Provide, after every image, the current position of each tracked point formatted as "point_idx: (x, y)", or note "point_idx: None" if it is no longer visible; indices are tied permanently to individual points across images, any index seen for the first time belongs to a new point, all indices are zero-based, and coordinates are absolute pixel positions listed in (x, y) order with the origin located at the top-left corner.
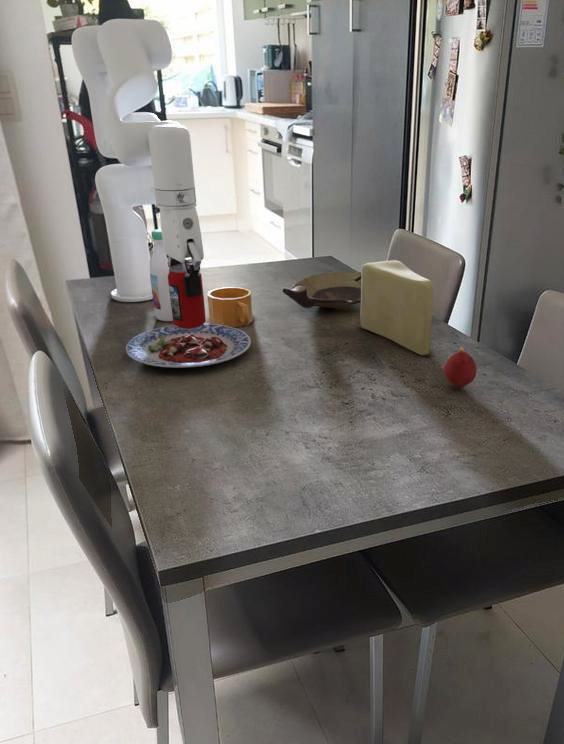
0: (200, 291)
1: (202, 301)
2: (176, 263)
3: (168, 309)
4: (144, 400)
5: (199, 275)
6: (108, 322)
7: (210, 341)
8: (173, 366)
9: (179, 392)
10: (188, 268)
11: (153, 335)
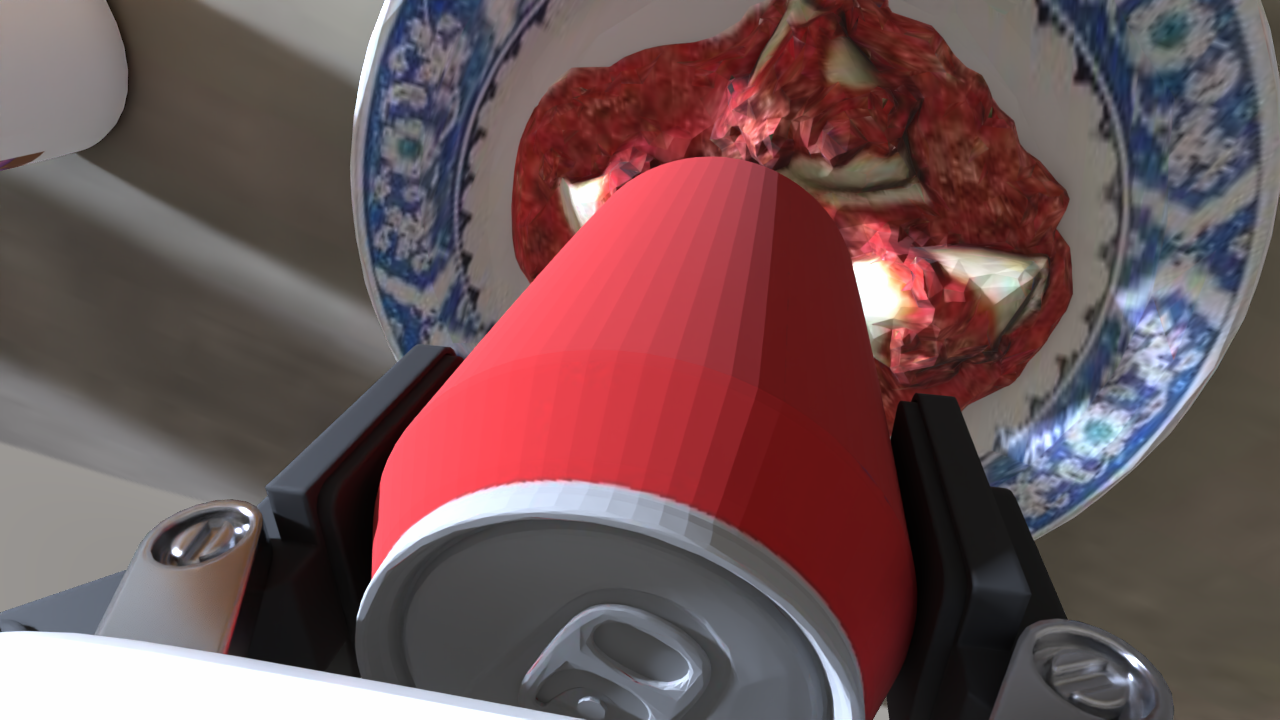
0: (959, 424)
1: (841, 287)
2: (263, 644)
3: (57, 108)
4: (1182, 690)
5: (1116, 646)
6: (73, 380)
7: (860, 151)
8: (1058, 524)
9: (1257, 560)
10: (698, 680)
11: None
